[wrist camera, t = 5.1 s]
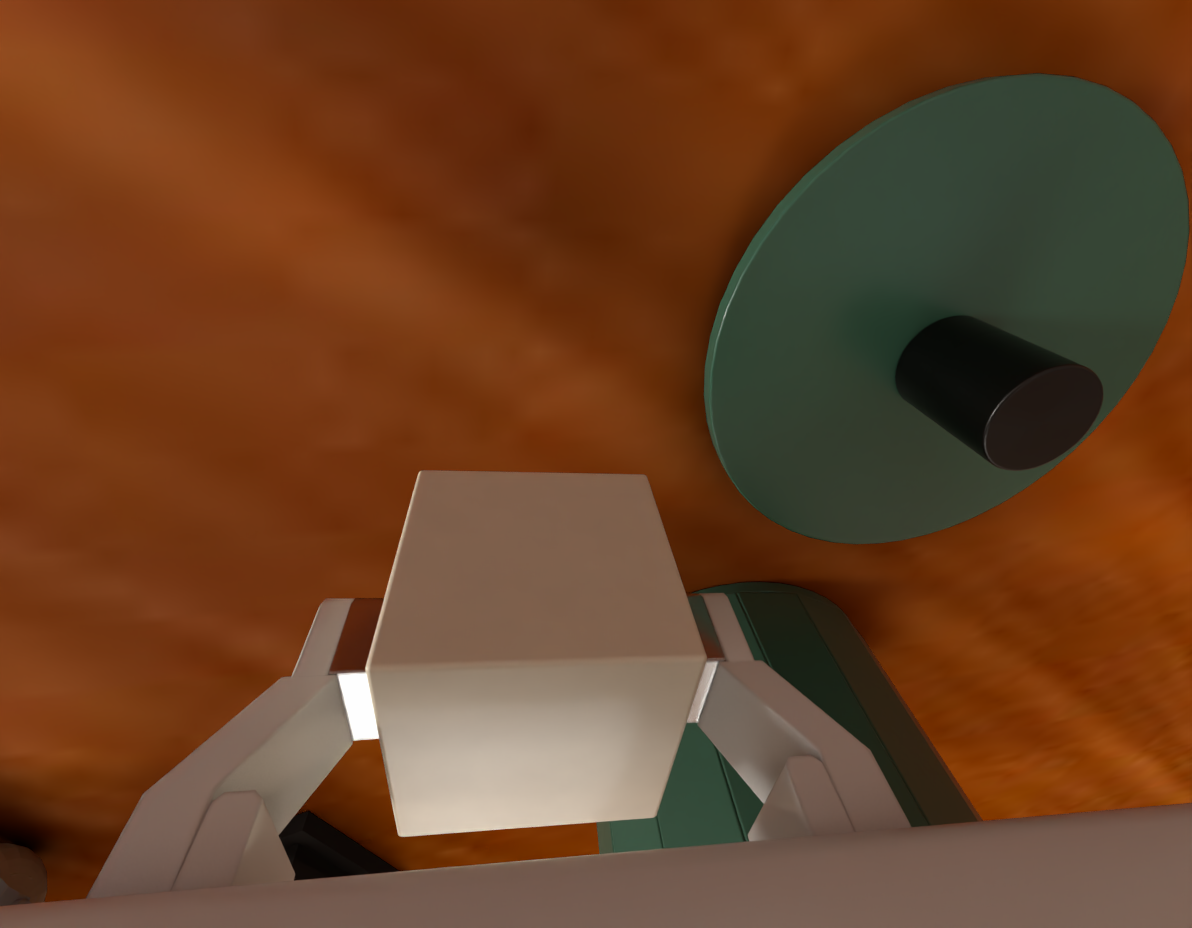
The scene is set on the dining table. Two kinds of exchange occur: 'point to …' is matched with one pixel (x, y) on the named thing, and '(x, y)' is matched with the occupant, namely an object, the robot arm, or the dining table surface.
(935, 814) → the green hollow cylinder
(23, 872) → the alarm clock
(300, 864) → the chess piece
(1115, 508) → the dining table surface
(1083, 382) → the lid
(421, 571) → the block
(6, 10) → the dining table surface
